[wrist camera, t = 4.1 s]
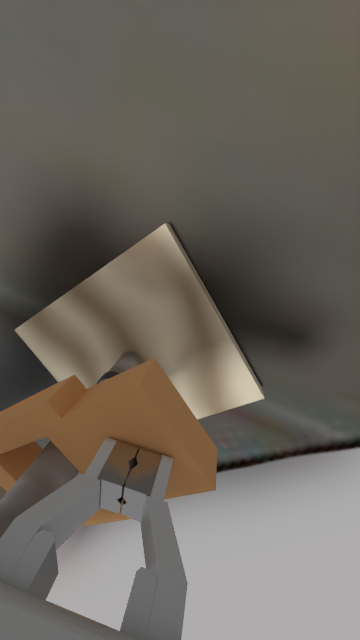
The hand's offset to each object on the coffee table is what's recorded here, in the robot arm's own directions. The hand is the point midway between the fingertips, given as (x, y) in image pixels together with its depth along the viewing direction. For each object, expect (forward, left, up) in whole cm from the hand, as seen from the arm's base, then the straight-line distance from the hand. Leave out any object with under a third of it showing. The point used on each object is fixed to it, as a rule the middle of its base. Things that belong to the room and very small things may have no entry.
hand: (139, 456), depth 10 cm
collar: (-4, 0, -2) cm, 5 cm away
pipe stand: (-6, 0, -13) cm, 15 cm away
